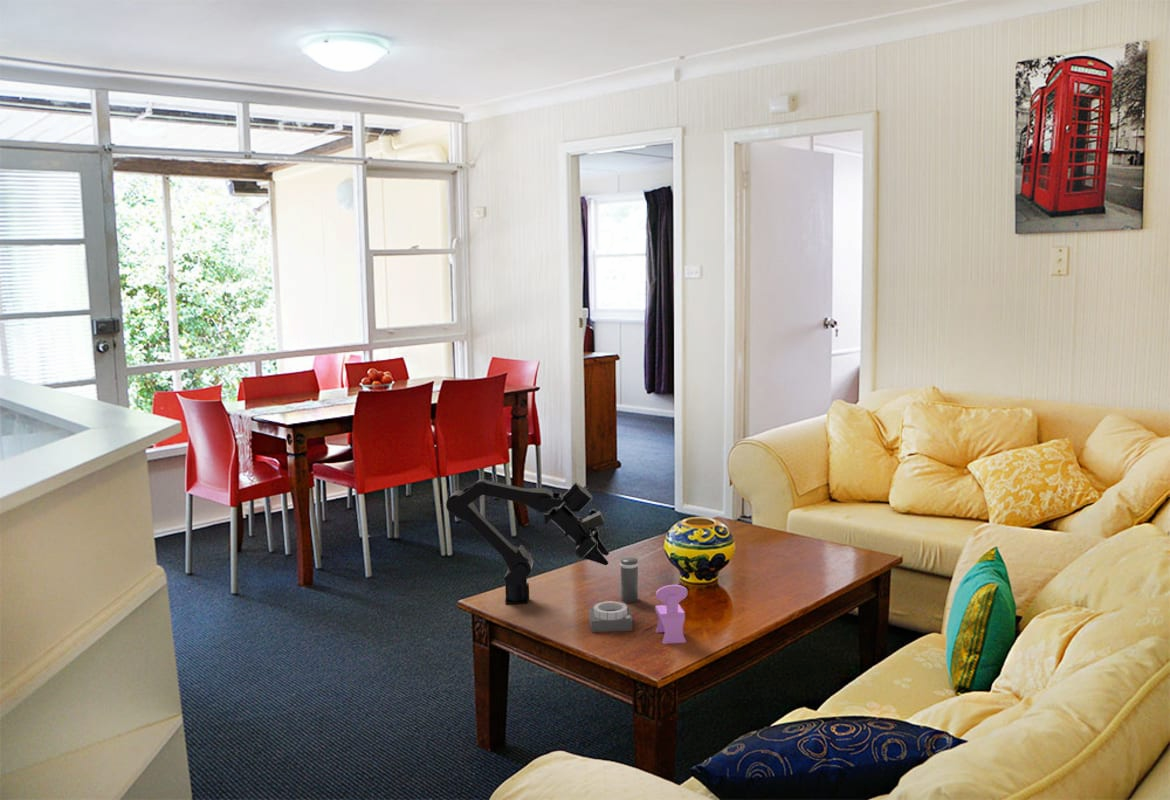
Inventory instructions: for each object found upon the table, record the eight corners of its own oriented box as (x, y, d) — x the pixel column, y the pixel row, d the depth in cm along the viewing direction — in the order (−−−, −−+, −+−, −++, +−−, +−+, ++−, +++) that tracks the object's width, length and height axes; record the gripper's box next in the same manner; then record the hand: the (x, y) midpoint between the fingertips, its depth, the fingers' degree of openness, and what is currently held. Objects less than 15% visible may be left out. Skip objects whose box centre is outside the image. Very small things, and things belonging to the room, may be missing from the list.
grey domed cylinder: (621, 603, 275) (620, 563, 274) (620, 597, 280) (619, 557, 279) (639, 602, 275) (638, 562, 274) (637, 596, 281) (637, 557, 279)
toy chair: (682, 629, 254) (681, 575, 252) (690, 642, 246) (689, 586, 244) (651, 631, 253) (651, 577, 251) (658, 644, 245) (658, 588, 243)
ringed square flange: (591, 632, 254) (591, 614, 253) (589, 619, 263) (589, 601, 263) (632, 630, 254) (632, 612, 254) (629, 617, 264) (628, 600, 263)
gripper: (586, 511, 265) (627, 549, 266) (589, 495, 284) (626, 531, 285) (559, 539, 267) (599, 576, 268) (563, 521, 285) (601, 557, 286)
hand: (607, 559), depth 276 cm, fingers open, 9 cm apart
